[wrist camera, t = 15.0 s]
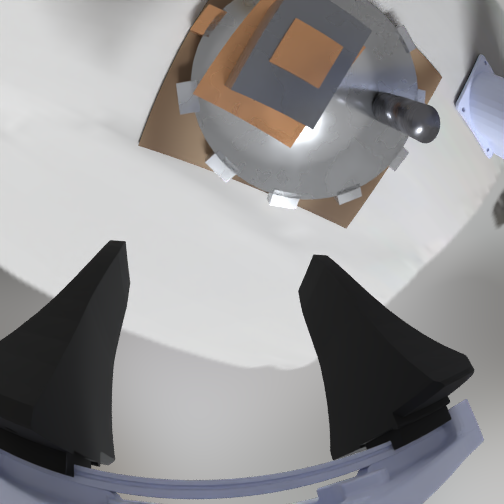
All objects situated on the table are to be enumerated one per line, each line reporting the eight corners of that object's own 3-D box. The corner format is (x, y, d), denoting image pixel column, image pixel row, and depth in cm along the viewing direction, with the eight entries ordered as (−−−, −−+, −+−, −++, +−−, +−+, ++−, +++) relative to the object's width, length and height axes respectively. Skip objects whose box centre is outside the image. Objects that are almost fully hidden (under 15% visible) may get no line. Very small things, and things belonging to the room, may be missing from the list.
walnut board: (440, 76, 15) (442, 77, 14) (345, 226, 23) (346, 228, 23) (253, -58, 8) (254, -59, 8) (139, 144, 16) (138, 145, 16)
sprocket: (389, -24, 9) (437, -35, 5) (422, 171, 20) (462, 202, 16) (140, 13, 10) (113, -7, 6) (233, 233, 21) (242, 282, 17)
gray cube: (328, 37, 12) (373, 30, 8) (284, 112, 15) (314, 130, 11) (270, 5, 10) (297, -19, 6) (224, 85, 13) (230, 89, 9)
